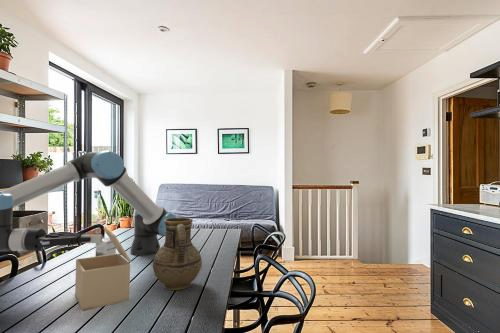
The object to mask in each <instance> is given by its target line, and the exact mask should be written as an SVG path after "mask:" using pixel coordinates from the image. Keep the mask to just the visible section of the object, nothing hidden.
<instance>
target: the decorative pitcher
mask: <svg viewBox="0 0 500 333" xmlns="http://www.w3.org/2000/svg"><path fill="white" fill-rule="evenodd" d="M193 221H194V220H193V218H190V217H176V218H169V219H165V220H164V222H165V227H166V235H165V236H164V238H165V240H164V244H163V245H162V246H160V250H159V251H158V252H157V253H155V256H154V258H153V262H152V269H153V273H154V275H155V277H156V278H157V280H158V281H160V283H162V284H163V285H164V288H165V289H166V290H171V291H182V290H185V289H188V288H190V287H191V286H192V282H193V281H195V279H196V278H197V277H198V276H199V273H200V271H201V269H202V265H203V260H202V256H201V253H200V252H199V249H198V248H197V247H196V246H195V245H194V244H193V243H192V238H191V233H192V227H193Z"/></svg>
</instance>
